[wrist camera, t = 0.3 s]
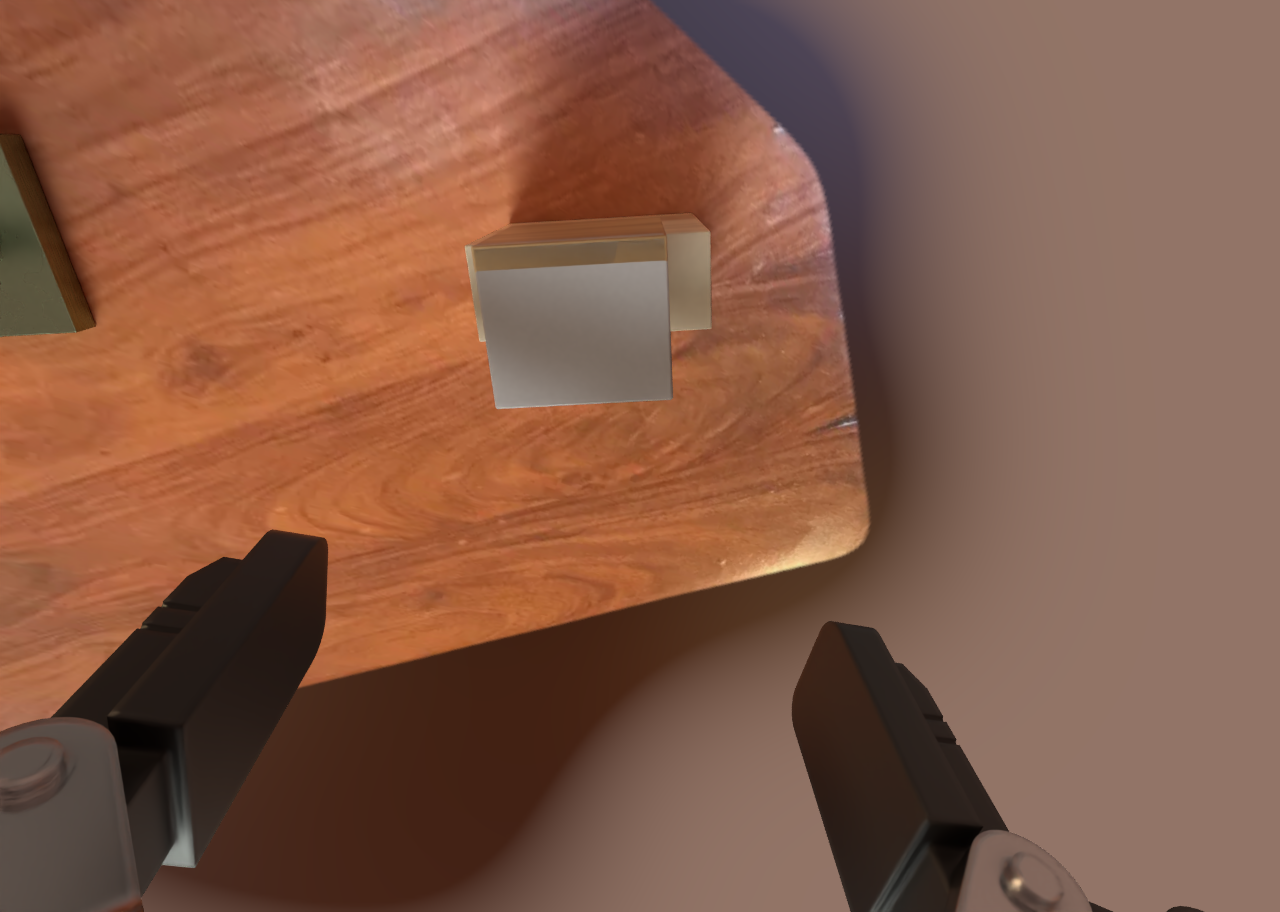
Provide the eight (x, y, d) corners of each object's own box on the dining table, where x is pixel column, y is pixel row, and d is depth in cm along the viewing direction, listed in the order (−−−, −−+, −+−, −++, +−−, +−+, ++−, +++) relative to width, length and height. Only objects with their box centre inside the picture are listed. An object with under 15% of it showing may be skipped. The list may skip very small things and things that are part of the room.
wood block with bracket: (506, 210, 36) (405, 250, 20) (692, 199, 36) (732, 231, 20) (519, 309, 38) (436, 413, 22) (694, 299, 38) (732, 397, 22)
